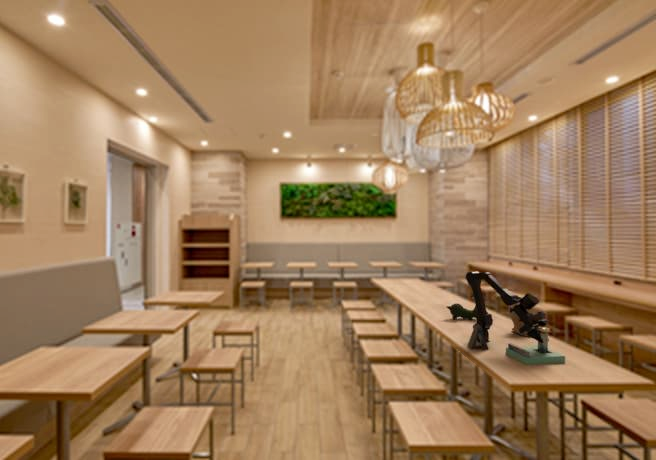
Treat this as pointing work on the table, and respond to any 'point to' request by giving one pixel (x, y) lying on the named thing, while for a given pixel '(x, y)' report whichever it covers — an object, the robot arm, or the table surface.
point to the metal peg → (544, 335)
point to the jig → (533, 355)
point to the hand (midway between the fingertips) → (545, 341)
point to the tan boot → (516, 323)
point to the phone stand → (473, 339)
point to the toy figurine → (462, 311)
